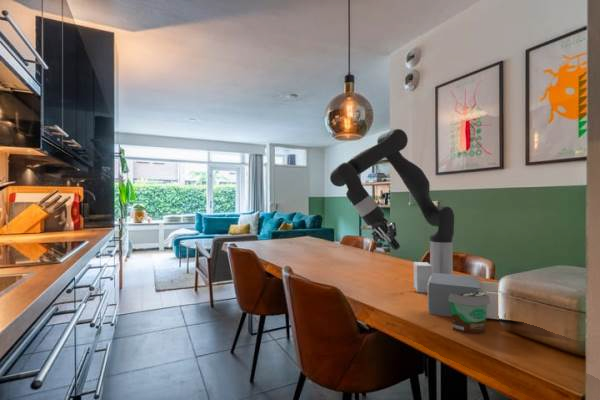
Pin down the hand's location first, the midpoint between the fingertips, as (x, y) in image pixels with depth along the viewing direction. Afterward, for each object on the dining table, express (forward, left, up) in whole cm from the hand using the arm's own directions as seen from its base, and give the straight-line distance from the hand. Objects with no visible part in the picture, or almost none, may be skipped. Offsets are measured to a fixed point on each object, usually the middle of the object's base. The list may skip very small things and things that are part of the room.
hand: (397, 248), depth 112 cm
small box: (-10, +14, -18) cm, 25 cm away
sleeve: (+13, +14, -18) cm, 26 cm away
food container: (+30, +10, -18) cm, 37 cm away
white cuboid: (+16, +18, -17) cm, 29 cm away
